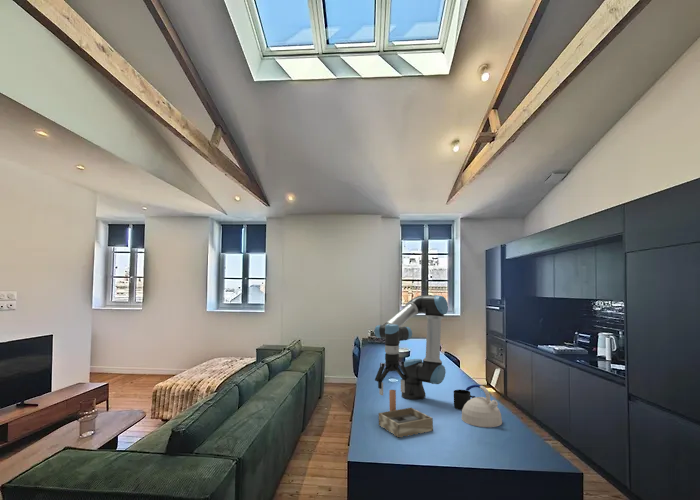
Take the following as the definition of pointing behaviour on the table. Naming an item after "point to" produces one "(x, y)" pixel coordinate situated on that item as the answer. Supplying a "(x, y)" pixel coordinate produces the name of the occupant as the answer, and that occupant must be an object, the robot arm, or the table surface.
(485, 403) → the kettle
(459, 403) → the mug
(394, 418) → the box
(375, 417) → the table surface
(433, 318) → the robot arm
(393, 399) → the peg
